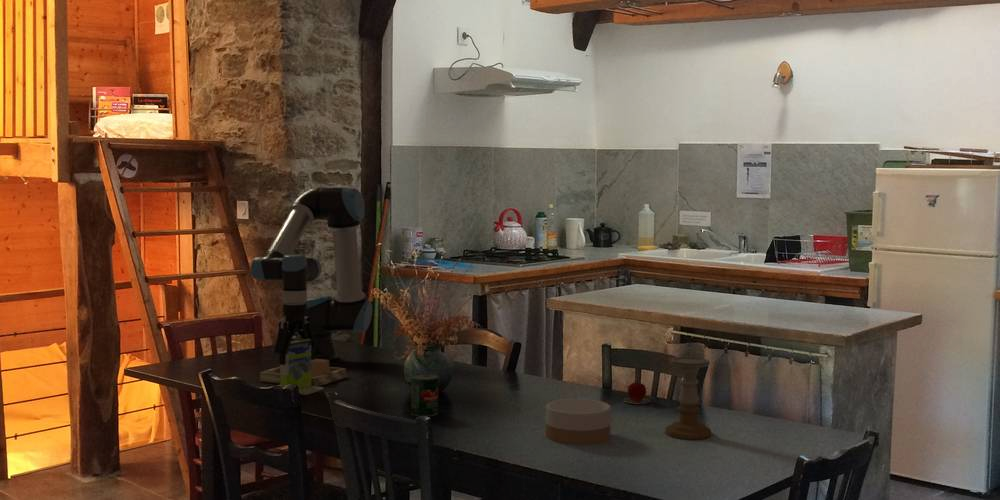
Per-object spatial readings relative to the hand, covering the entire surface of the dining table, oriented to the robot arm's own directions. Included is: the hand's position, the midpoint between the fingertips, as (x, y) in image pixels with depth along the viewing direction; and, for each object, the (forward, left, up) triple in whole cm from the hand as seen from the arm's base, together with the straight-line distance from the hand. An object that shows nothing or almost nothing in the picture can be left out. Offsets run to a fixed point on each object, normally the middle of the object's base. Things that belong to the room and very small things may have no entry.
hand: (295, 371), depth 329 cm
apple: (-31, +104, -6) cm, 108 cm away
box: (0, 0, -6) cm, 6 cm away
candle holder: (-1, +128, -6) cm, 128 cm away
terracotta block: (-14, -1, -6) cm, 16 cm away
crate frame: (-14, -7, -6) cm, 17 cm away
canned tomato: (+10, +53, -6) cm, 54 cm away
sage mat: (0, 0, -6) cm, 6 cm away
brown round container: (+14, +102, -6) cm, 103 cm away
